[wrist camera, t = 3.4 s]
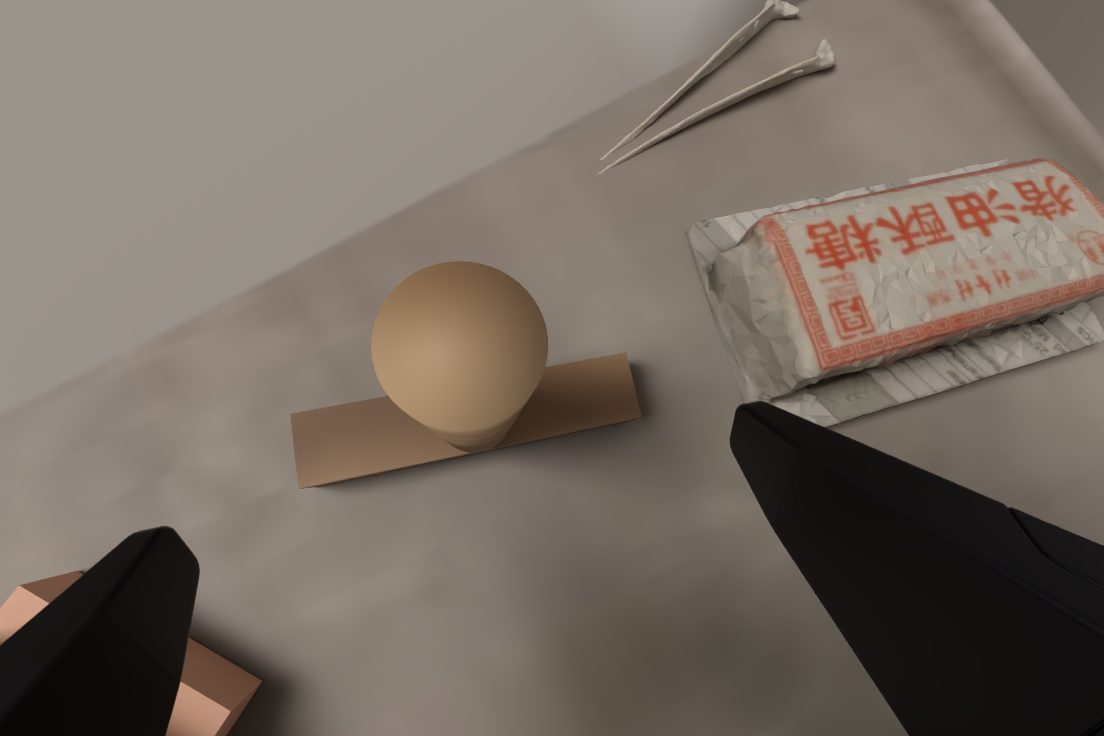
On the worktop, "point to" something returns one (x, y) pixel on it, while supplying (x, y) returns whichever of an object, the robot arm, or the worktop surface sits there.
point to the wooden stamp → (459, 381)
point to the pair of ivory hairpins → (771, 11)
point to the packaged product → (903, 286)
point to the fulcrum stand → (207, 679)
